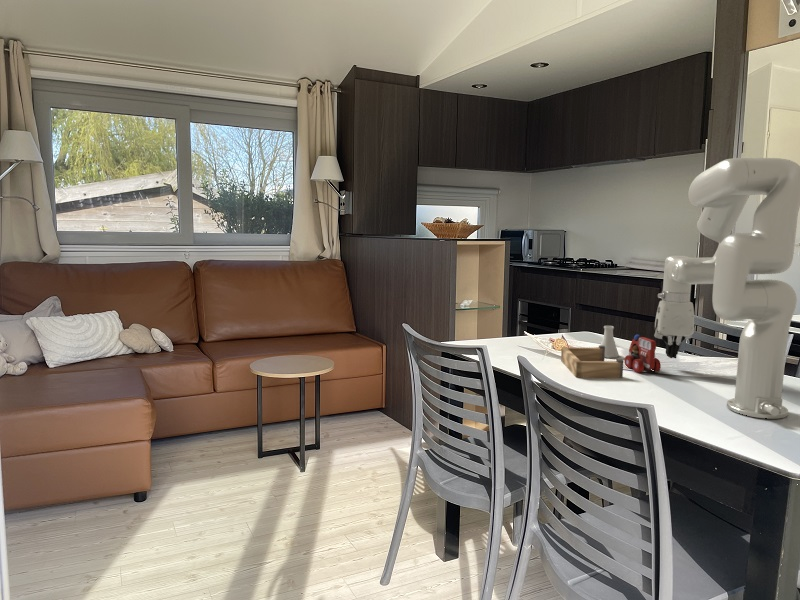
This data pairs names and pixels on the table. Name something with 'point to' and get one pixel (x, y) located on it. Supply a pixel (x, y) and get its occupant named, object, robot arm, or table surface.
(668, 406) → the table surface
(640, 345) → the toy fire truck
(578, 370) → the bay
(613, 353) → the flask
